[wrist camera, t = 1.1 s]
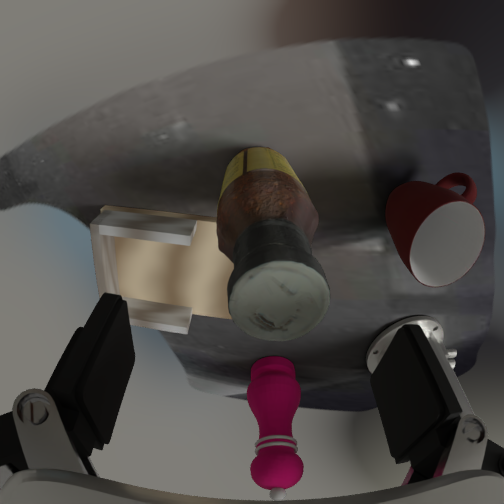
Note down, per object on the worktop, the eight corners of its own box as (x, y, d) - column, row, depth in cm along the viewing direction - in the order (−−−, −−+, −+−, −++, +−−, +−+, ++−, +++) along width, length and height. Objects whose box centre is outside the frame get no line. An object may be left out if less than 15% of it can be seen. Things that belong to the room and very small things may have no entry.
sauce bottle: (240, 214, 31) (224, 377, 14) (216, 157, 28) (154, 273, 11) (303, 192, 30) (362, 340, 13) (281, 133, 27) (331, 213, 10)
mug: (417, 133, 26) (475, 155, 18) (458, 182, 29) (512, 218, 20) (354, 207, 31) (389, 256, 22) (400, 248, 33) (439, 302, 24)
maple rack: (272, 224, 32) (275, 246, 28) (255, 315, 38) (255, 342, 33) (105, 205, 31) (85, 223, 27) (113, 294, 36) (100, 318, 32)
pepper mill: (247, 384, 44) (245, 507, 27) (246, 353, 41) (243, 493, 23) (295, 383, 44) (306, 505, 27) (300, 352, 41) (316, 490, 23)
